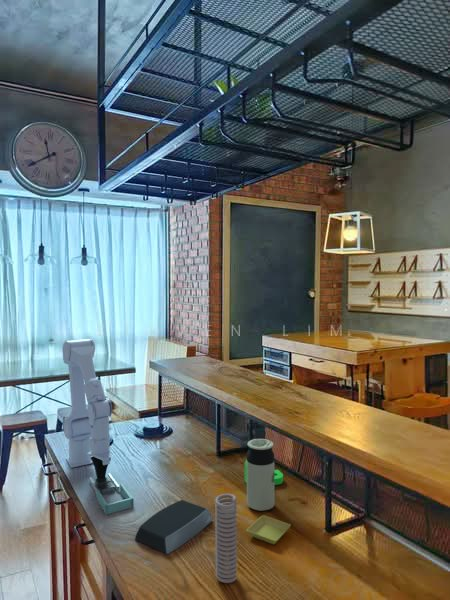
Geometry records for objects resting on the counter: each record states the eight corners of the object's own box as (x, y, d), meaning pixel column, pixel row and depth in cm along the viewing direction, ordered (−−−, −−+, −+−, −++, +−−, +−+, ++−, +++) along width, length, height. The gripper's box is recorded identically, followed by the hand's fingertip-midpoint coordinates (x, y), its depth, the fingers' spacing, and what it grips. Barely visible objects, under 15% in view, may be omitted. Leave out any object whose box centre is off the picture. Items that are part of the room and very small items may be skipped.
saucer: (275, 549, 105) (275, 541, 105) (245, 537, 110) (245, 529, 110) (291, 532, 112) (291, 524, 112) (262, 522, 117) (262, 514, 117)
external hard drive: (215, 522, 117) (214, 508, 117) (168, 557, 102) (168, 541, 102) (180, 508, 124) (180, 495, 124) (132, 539, 109) (132, 524, 109)
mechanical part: (251, 489, 135) (251, 464, 135) (244, 481, 141) (244, 456, 141) (286, 483, 139) (286, 458, 139) (277, 475, 145) (277, 451, 145)
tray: (96, 498, 130) (96, 490, 130) (122, 491, 134) (122, 483, 134) (105, 514, 121) (105, 505, 120) (133, 506, 125) (133, 498, 125)
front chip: (98, 490, 135) (98, 484, 135) (111, 487, 137) (111, 481, 137) (102, 496, 132) (102, 489, 132) (115, 492, 134) (115, 486, 134)
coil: (213, 583, 93) (213, 501, 92) (217, 569, 97) (217, 490, 97) (235, 585, 92) (235, 502, 91) (238, 571, 97) (237, 492, 96)
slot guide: (89, 482, 140) (89, 477, 140) (109, 477, 143) (109, 472, 143) (98, 496, 131) (98, 491, 131) (119, 491, 134) (119, 486, 134)
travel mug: (242, 507, 124) (242, 445, 123) (253, 495, 131) (253, 436, 130) (268, 514, 120) (268, 450, 119) (278, 501, 127) (278, 441, 127)
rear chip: (95, 485, 139) (95, 478, 138) (107, 482, 141) (107, 475, 141) (98, 490, 135) (98, 483, 135) (111, 487, 137) (111, 480, 137)
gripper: (82, 433, 144) (83, 473, 145) (93, 447, 132) (93, 491, 132) (103, 429, 148) (104, 468, 148) (116, 442, 135) (116, 485, 136)
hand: (100, 478), depth 140 cm, fingers closed
